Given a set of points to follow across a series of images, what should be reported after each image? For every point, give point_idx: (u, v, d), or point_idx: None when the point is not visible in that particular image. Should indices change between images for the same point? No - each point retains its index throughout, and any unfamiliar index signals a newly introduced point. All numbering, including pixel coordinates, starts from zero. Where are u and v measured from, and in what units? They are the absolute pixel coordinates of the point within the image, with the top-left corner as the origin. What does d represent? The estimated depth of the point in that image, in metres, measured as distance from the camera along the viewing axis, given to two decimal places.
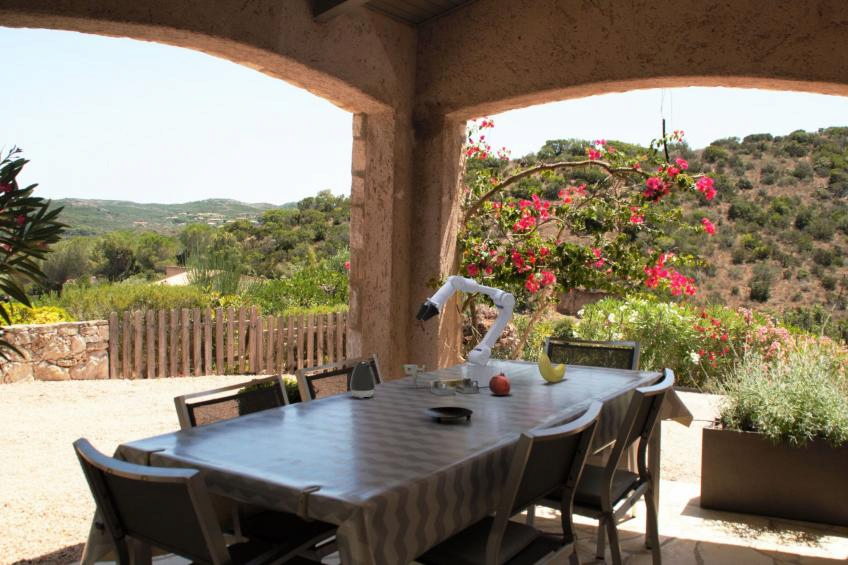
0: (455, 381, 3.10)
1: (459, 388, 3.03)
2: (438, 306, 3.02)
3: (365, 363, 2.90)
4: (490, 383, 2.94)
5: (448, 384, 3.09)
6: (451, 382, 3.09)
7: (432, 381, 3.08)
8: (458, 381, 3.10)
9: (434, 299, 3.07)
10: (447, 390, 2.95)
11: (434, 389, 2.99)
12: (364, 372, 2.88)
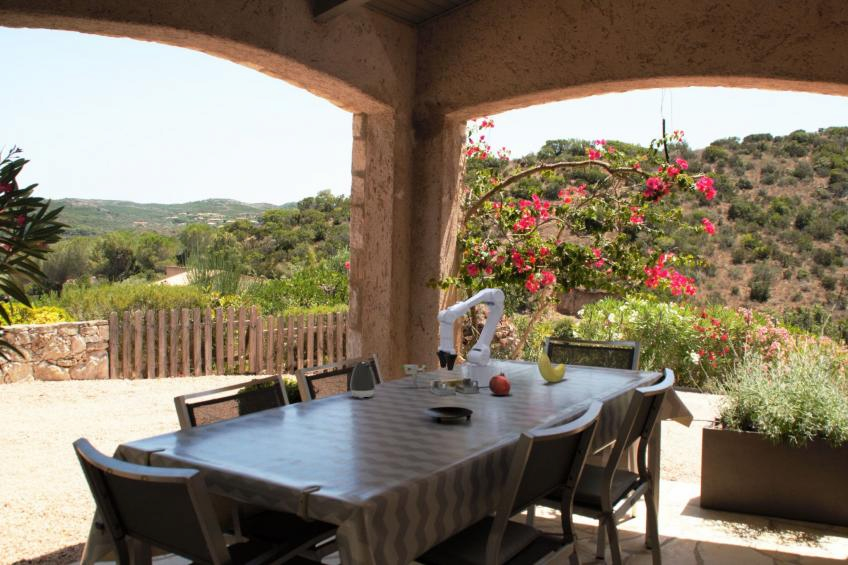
0: (455, 381, 3.10)
1: (459, 388, 3.03)
2: (452, 352, 3.03)
3: (365, 363, 2.90)
4: (490, 383, 2.94)
5: (448, 384, 3.09)
6: (451, 382, 3.09)
7: (432, 381, 3.07)
8: (458, 381, 3.10)
9: (444, 346, 3.07)
10: (447, 390, 2.95)
11: (434, 389, 2.99)
12: (364, 372, 2.88)
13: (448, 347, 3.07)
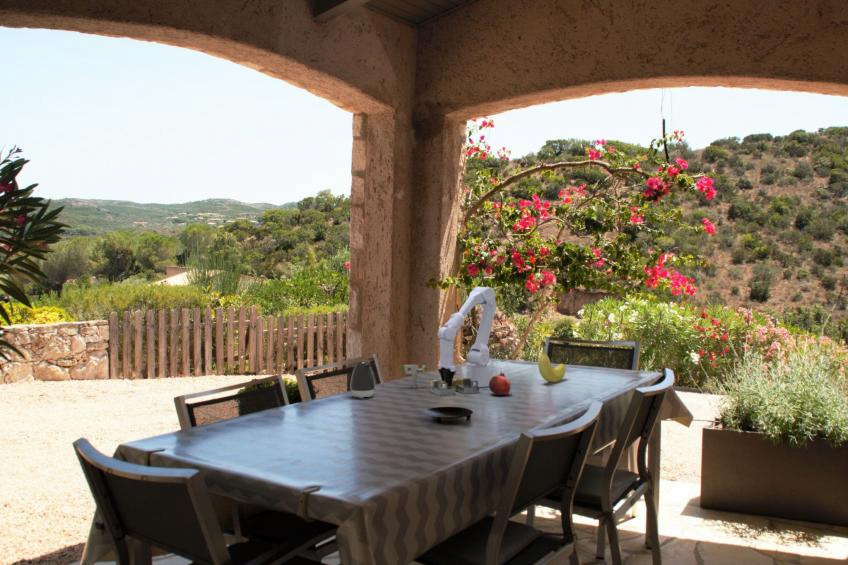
0: (455, 381, 3.10)
1: (459, 388, 3.03)
2: (452, 369, 3.03)
3: (365, 363, 2.90)
4: (490, 383, 2.94)
5: None
6: None
7: (432, 381, 3.07)
8: (458, 381, 3.10)
9: (444, 363, 3.07)
10: (447, 390, 2.95)
11: (434, 389, 2.99)
12: (364, 372, 2.88)
13: (448, 364, 3.07)
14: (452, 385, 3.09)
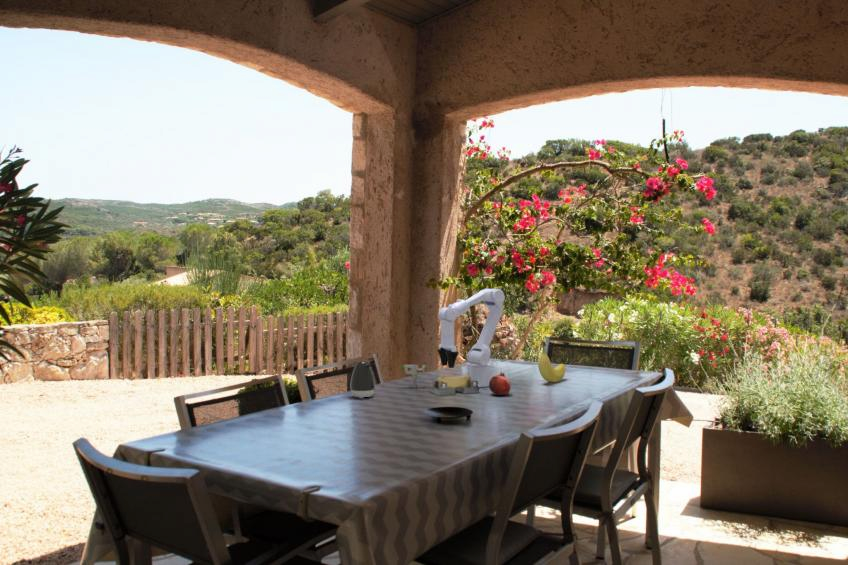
0: (463, 378, 3.01)
1: (459, 388, 3.03)
2: (453, 350, 3.02)
3: (365, 363, 2.90)
4: (490, 383, 2.94)
5: (456, 381, 3.00)
6: (459, 379, 3.00)
7: (439, 378, 2.99)
8: (466, 378, 3.02)
9: (444, 343, 3.06)
10: (447, 390, 2.95)
11: (434, 389, 2.99)
12: (364, 372, 2.88)
13: (449, 344, 3.06)
14: (460, 382, 3.01)
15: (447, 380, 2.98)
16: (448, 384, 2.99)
